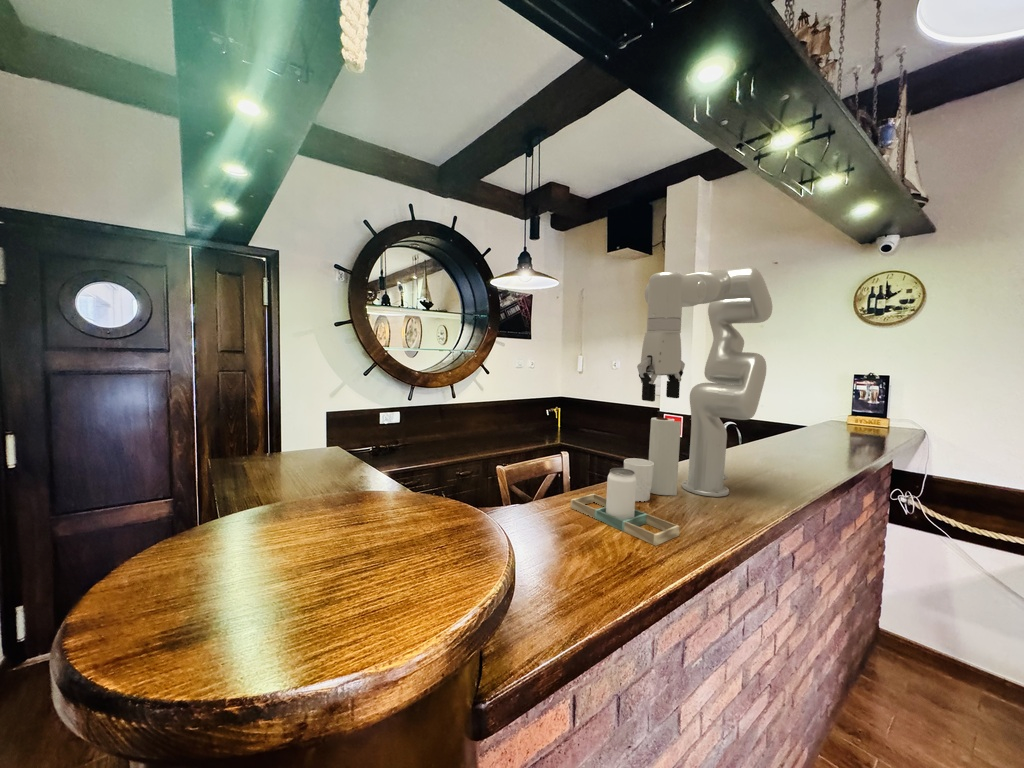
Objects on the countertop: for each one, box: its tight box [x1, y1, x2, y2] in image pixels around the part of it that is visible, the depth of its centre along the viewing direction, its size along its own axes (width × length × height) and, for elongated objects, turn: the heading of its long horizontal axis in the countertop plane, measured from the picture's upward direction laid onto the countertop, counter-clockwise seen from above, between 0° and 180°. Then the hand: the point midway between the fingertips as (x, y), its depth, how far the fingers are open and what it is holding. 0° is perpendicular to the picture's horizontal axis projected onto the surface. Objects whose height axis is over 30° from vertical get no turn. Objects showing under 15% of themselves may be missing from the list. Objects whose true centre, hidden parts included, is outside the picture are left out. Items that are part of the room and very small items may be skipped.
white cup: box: [623, 457, 654, 503], centre depth 114 cm, size 8×8×10 cm
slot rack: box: [570, 493, 681, 547], centre depth 98 cm, size 9×25×2 cm, turn 37°
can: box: [605, 467, 636, 521], centre depth 97 cm, size 6×6×12 cm
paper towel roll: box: [648, 417, 682, 496], centre depth 119 cm, size 7×6×21 cm
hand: (660, 399), depth 100 cm, fingers open, 9 cm apart
